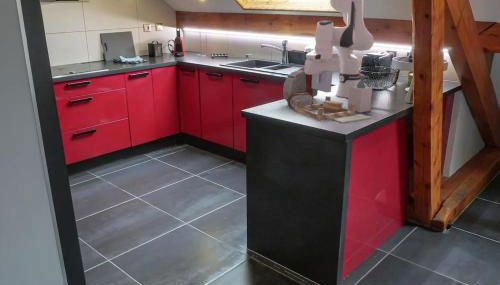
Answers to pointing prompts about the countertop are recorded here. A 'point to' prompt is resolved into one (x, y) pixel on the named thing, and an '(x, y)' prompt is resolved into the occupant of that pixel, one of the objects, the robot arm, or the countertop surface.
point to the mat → (351, 118)
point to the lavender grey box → (323, 81)
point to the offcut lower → (331, 110)
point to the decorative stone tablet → (298, 84)
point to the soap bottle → (360, 96)
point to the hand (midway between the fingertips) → (321, 81)
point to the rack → (319, 115)
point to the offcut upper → (332, 104)
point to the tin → (303, 97)
